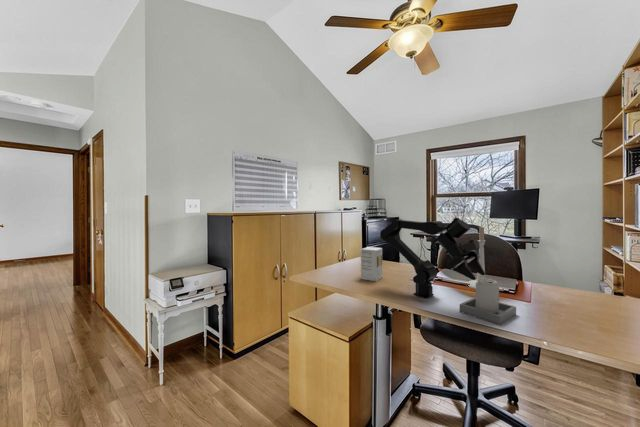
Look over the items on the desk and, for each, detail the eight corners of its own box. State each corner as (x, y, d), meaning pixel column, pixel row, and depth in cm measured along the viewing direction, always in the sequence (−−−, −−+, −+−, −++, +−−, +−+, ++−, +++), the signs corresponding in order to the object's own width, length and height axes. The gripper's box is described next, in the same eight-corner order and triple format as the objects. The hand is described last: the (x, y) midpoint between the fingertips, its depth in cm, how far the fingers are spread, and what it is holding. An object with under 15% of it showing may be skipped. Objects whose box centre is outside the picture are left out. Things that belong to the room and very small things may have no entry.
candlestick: (461, 282, 140) (462, 225, 139) (486, 282, 140) (487, 224, 138) (474, 290, 127) (475, 227, 126) (502, 290, 127) (503, 227, 125)
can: (498, 317, 98) (498, 284, 97) (474, 312, 102) (474, 281, 101) (499, 310, 104) (499, 279, 103) (476, 306, 108) (476, 276, 107)
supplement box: (376, 281, 144) (376, 250, 143) (360, 279, 149) (360, 249, 148) (382, 277, 152) (382, 247, 151) (367, 275, 157) (367, 246, 156)
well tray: (459, 311, 104) (459, 304, 104) (476, 303, 112) (476, 296, 112) (500, 325, 93) (500, 316, 93) (516, 314, 101) (516, 306, 101)
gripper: (455, 235, 101) (487, 269, 93) (474, 230, 113) (505, 261, 105) (434, 253, 108) (463, 286, 100) (455, 247, 120) (482, 276, 112)
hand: (479, 277), depth 104 cm, fingers open, 9 cm apart
